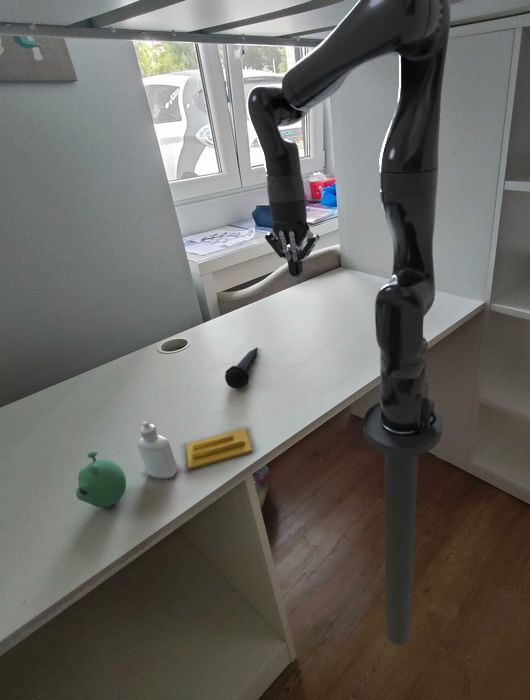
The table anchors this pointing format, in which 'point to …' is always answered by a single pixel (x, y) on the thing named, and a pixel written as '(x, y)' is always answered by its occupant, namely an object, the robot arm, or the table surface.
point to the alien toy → (101, 482)
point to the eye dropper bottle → (156, 453)
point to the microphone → (240, 371)
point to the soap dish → (218, 448)
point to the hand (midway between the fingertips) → (296, 275)
